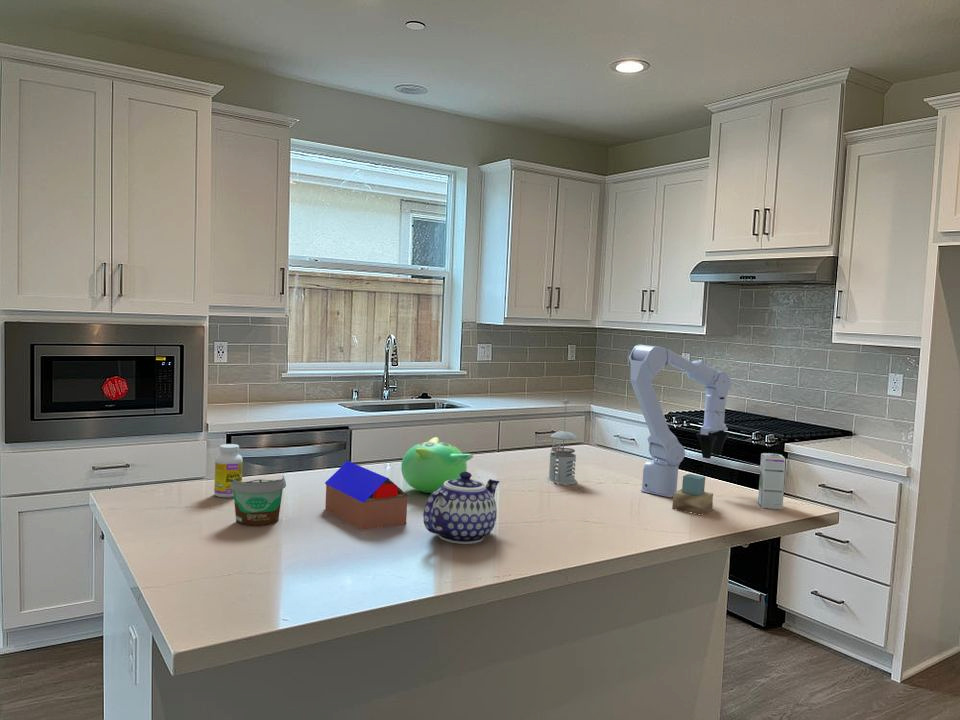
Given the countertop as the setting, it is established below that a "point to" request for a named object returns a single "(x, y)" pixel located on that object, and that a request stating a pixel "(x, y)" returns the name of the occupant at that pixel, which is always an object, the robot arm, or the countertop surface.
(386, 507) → the house
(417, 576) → the countertop surface
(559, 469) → the french press
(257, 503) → the food container
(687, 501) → the slab top
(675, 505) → the slab bottom
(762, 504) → the syrup box
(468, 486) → the teapot
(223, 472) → the supplement bottle
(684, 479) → the teal cube
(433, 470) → the toy bird
